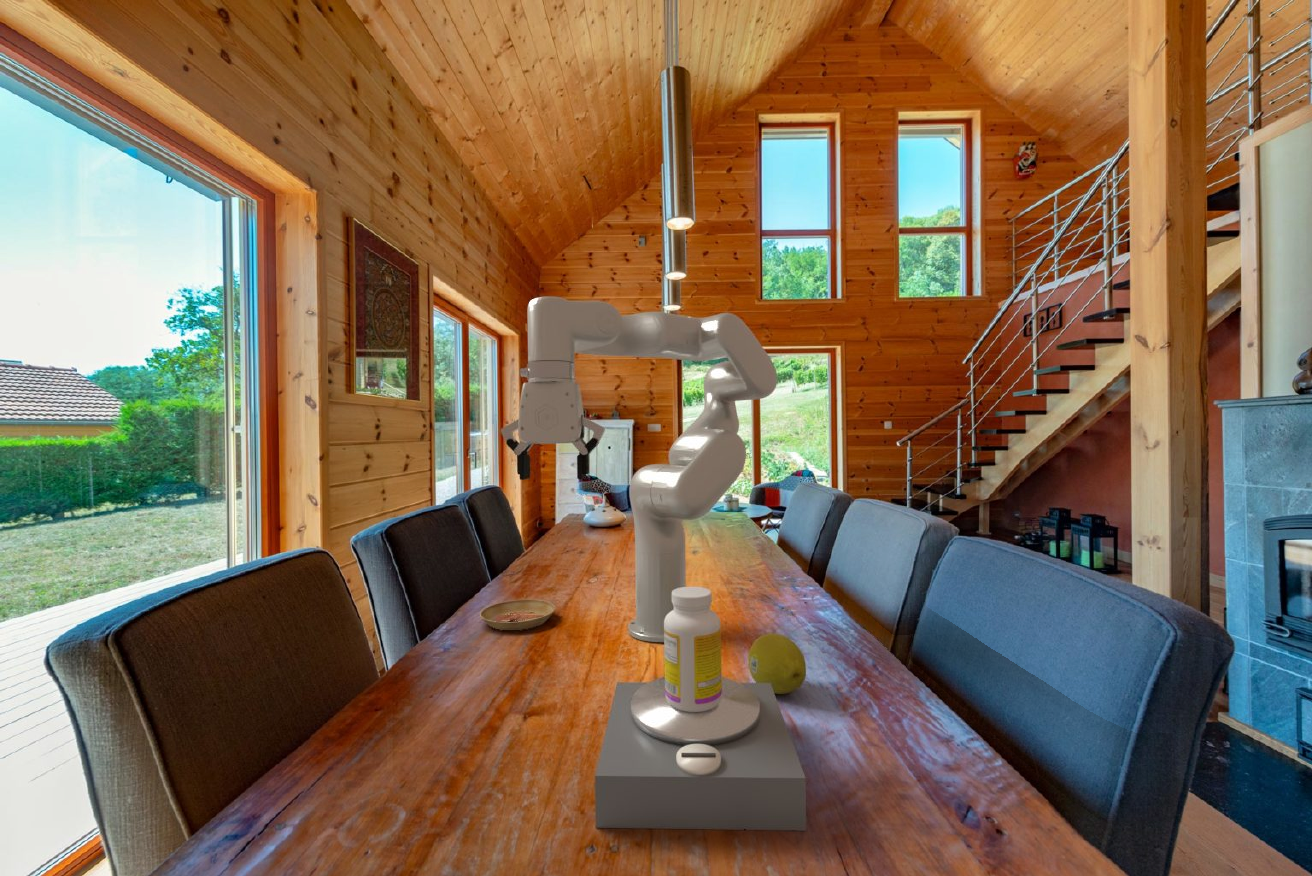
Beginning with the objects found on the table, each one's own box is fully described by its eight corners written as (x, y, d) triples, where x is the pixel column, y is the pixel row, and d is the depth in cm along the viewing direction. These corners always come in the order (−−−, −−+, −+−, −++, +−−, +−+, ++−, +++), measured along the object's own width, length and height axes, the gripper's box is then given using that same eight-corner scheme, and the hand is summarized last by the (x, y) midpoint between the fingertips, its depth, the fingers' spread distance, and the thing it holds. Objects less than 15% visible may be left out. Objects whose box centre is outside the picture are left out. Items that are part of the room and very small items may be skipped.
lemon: (741, 677, 86) (740, 625, 86) (791, 674, 87) (790, 622, 87) (761, 711, 75) (760, 652, 75) (817, 708, 76) (816, 650, 76)
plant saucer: (464, 631, 108) (463, 618, 108) (505, 608, 122) (505, 596, 122) (532, 639, 104) (532, 625, 104) (567, 614, 118) (567, 601, 118)
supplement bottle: (727, 692, 68) (726, 586, 68) (714, 718, 62) (713, 602, 61) (674, 684, 70) (673, 582, 70) (657, 709, 64) (655, 597, 64)
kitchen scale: (617, 720, 74) (617, 676, 74) (770, 721, 73) (770, 676, 73) (595, 827, 54) (594, 767, 54) (806, 830, 53) (805, 769, 53)
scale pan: (635, 680, 73) (635, 673, 73) (750, 681, 73) (750, 673, 73) (625, 744, 58) (625, 735, 58) (769, 746, 58) (769, 736, 58)
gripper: (491, 373, 89) (493, 481, 89) (598, 371, 87) (599, 481, 87) (509, 378, 97) (511, 477, 97) (608, 375, 94) (609, 477, 95)
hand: (553, 479), depth 92 cm, fingers open, 9 cm apart
